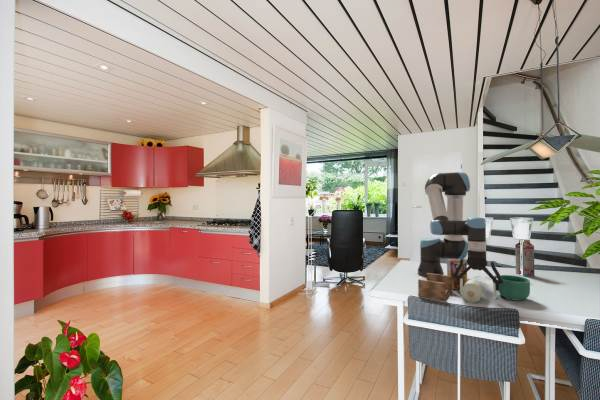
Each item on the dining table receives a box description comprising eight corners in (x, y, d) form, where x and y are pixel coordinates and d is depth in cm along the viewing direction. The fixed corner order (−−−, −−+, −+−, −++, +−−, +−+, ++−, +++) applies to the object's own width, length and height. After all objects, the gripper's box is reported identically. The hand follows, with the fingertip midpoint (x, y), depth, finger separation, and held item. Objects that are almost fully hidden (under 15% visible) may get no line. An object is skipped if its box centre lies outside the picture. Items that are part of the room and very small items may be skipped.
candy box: (463, 287, 159) (462, 258, 159) (467, 289, 155) (467, 260, 155) (446, 287, 159) (446, 259, 159) (451, 289, 155) (450, 260, 155)
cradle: (418, 296, 144) (418, 279, 144) (427, 287, 159) (427, 272, 159) (444, 300, 137) (444, 283, 137) (452, 291, 151) (452, 275, 151)
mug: (537, 301, 135) (536, 280, 135) (514, 303, 133) (514, 282, 133) (505, 290, 152) (505, 272, 152) (484, 292, 149) (484, 274, 149)
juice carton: (534, 276, 180) (533, 240, 181) (523, 276, 180) (523, 240, 181) (526, 273, 187) (525, 239, 187) (515, 273, 187) (515, 239, 187)
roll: (470, 298, 145) (461, 282, 148) (487, 292, 141) (477, 277, 144) (467, 305, 136) (457, 288, 138) (484, 299, 131) (474, 282, 134)
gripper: (446, 248, 143) (447, 292, 143) (508, 253, 128) (509, 302, 128) (449, 247, 149) (450, 288, 149) (509, 251, 134) (510, 297, 134)
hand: (477, 295), depth 138 cm, fingers open, 13 cm apart
